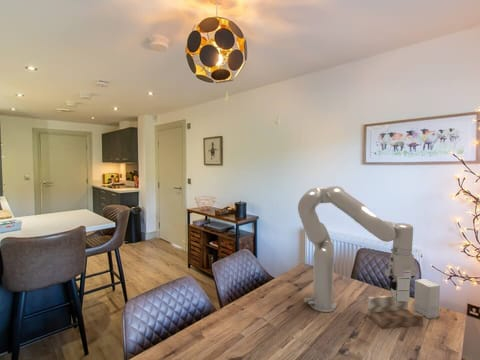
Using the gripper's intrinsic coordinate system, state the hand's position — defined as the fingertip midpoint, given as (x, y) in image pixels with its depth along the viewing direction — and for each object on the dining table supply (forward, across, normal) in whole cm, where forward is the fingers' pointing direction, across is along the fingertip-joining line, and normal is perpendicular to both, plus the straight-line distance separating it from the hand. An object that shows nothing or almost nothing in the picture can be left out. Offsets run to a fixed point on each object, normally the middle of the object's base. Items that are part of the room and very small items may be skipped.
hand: (399, 288), depth 122 cm
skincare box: (+16, +17, +3) cm, 23 cm away
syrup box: (+5, 0, 0) cm, 5 cm away
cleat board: (+15, -2, 0) cm, 16 cm away
